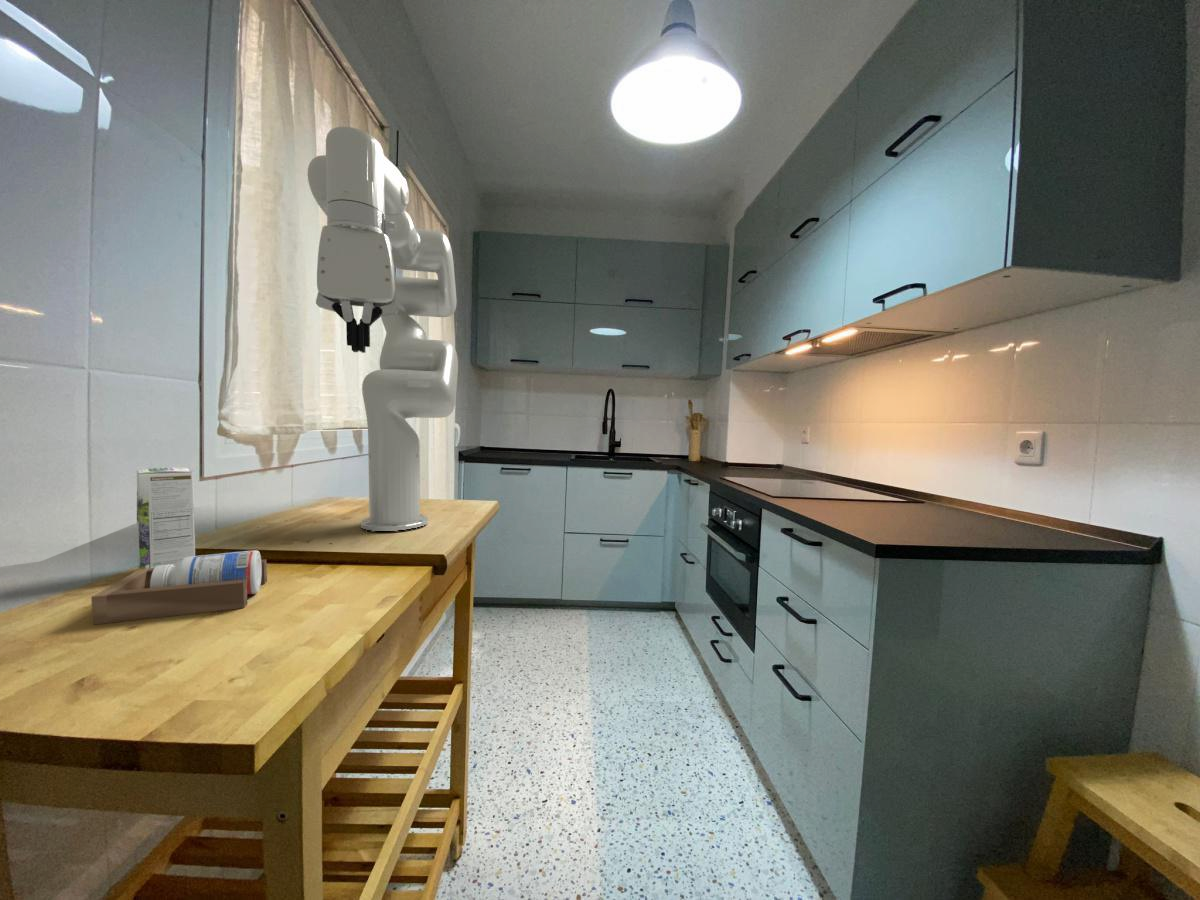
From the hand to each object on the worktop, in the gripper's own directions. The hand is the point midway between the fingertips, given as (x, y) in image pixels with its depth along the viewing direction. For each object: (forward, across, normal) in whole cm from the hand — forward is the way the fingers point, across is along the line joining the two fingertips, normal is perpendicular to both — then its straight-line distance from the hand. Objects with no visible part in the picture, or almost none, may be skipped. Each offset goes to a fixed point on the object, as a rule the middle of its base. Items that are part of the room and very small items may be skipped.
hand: (358, 351), depth 70 cm
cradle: (+32, +17, +10) cm, 38 cm away
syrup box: (+32, +25, -4) cm, 41 cm away
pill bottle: (+29, +11, +10) cm, 33 cm away
